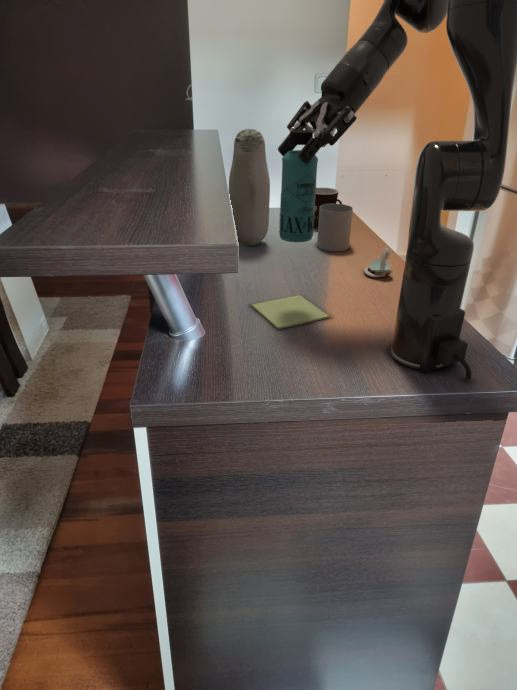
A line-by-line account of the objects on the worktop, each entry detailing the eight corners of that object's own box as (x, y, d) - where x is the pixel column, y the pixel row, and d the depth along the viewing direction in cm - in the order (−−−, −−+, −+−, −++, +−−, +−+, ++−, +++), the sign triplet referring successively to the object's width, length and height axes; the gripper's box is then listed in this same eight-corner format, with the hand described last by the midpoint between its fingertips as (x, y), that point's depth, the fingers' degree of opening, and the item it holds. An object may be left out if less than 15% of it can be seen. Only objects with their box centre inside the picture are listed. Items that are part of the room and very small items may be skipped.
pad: (329, 317, 97) (329, 315, 97) (278, 329, 93) (278, 327, 92) (299, 296, 105) (299, 294, 105) (251, 306, 101) (251, 304, 101)
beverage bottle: (271, 244, 96) (273, 129, 87) (297, 237, 100) (301, 127, 91) (295, 253, 92) (300, 133, 82) (321, 245, 96) (328, 130, 86)
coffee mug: (302, 222, 154) (304, 188, 149) (330, 220, 155) (333, 187, 150) (313, 233, 144) (315, 197, 139) (343, 232, 145) (346, 196, 140)
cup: (348, 252, 130) (352, 212, 125) (316, 250, 131) (318, 211, 126) (348, 242, 137) (352, 204, 132) (318, 240, 138) (320, 202, 133)
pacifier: (365, 280, 114) (393, 280, 114) (368, 253, 111) (396, 252, 111) (362, 268, 120) (388, 268, 120) (364, 242, 117) (390, 242, 117)
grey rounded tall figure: (224, 240, 137) (222, 127, 124) (259, 236, 141) (260, 126, 127) (238, 251, 130) (236, 132, 116) (274, 247, 133) (277, 130, 119)
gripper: (319, 61, 90) (258, 136, 91) (369, 60, 79) (300, 146, 80) (341, 94, 95) (284, 165, 96) (392, 98, 83) (326, 179, 85)
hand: (291, 156), depth 88 cm, fingers closed on beverage bottle, 6 cm apart
